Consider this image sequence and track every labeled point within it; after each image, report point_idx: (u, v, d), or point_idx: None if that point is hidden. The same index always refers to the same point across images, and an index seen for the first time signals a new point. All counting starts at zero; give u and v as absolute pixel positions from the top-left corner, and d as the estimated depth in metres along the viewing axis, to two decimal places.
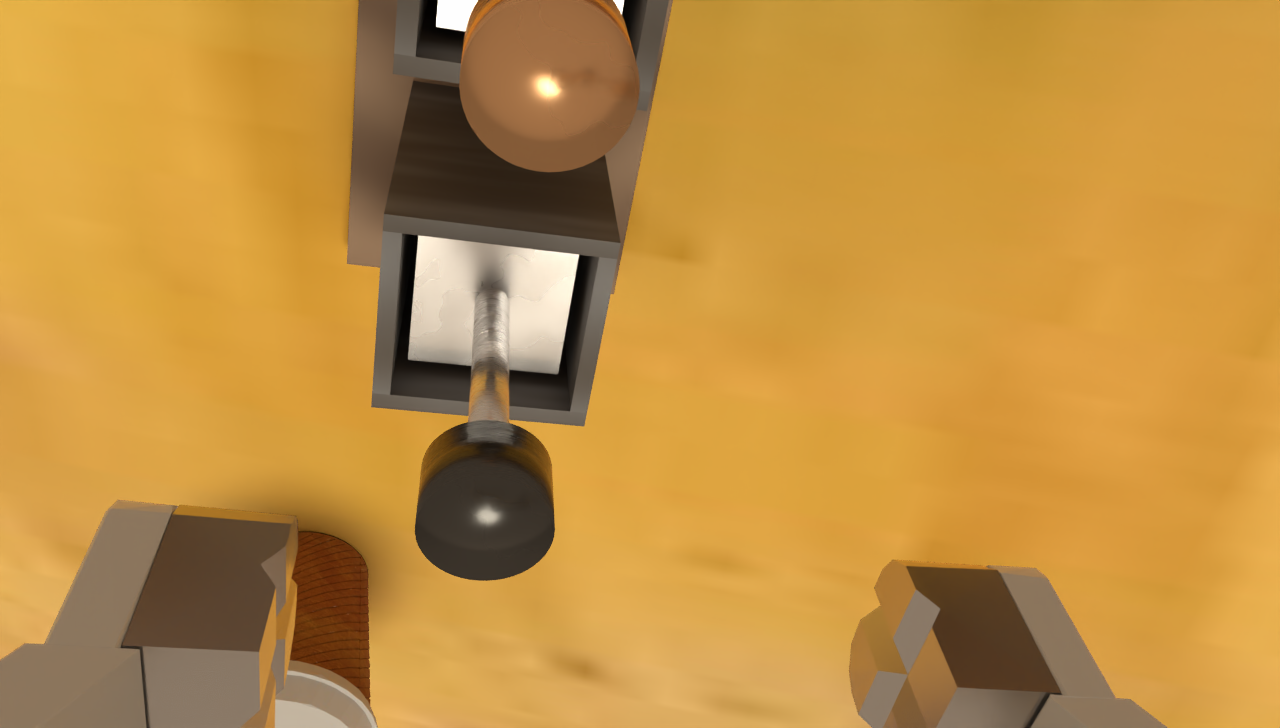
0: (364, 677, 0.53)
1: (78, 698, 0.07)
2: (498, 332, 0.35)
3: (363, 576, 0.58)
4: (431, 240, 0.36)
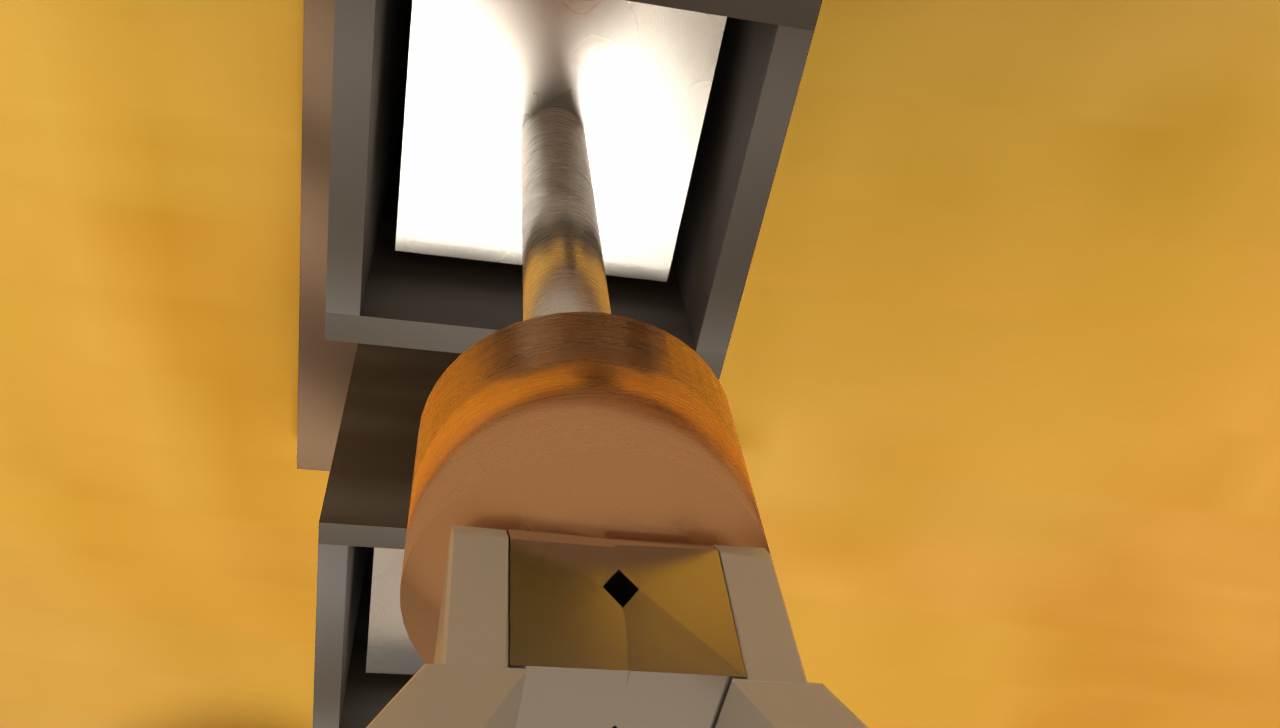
0: None
1: (489, 715, 0.08)
2: None
3: None
4: None
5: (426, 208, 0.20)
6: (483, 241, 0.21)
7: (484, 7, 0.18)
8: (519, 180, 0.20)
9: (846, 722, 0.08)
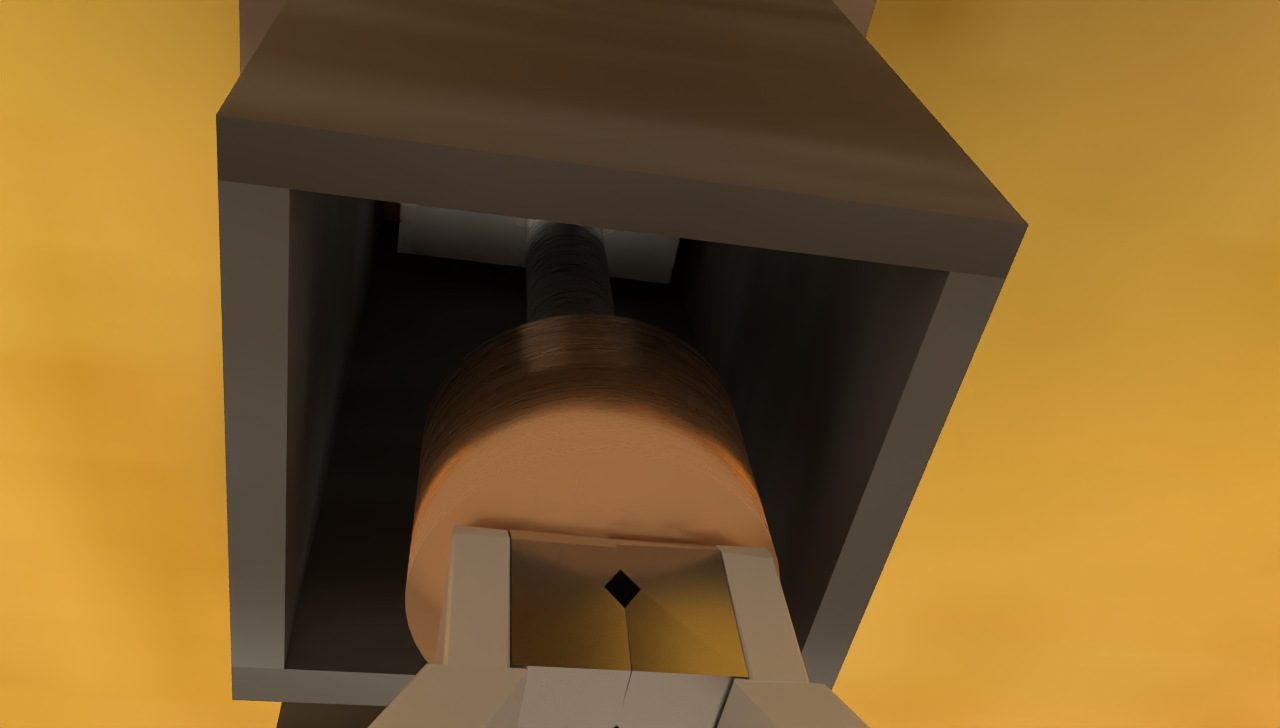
0: None
1: (491, 715, 0.08)
2: None
3: None
4: None
5: (429, 210, 0.20)
6: (485, 242, 0.21)
7: None
8: None
9: (848, 723, 0.08)
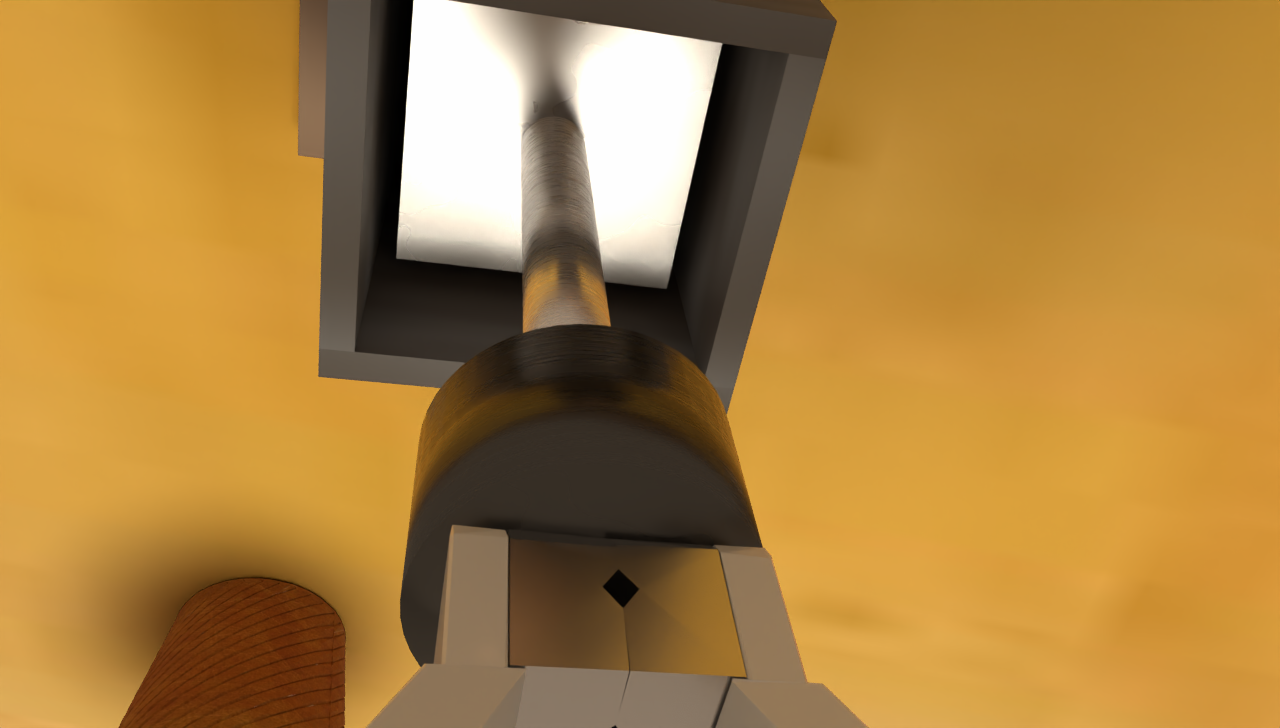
0: None
1: (489, 715, 0.08)
2: (574, 182, 0.17)
3: (337, 642, 0.40)
4: (439, 9, 0.18)
5: None
6: None
7: None
8: None
9: (846, 722, 0.08)
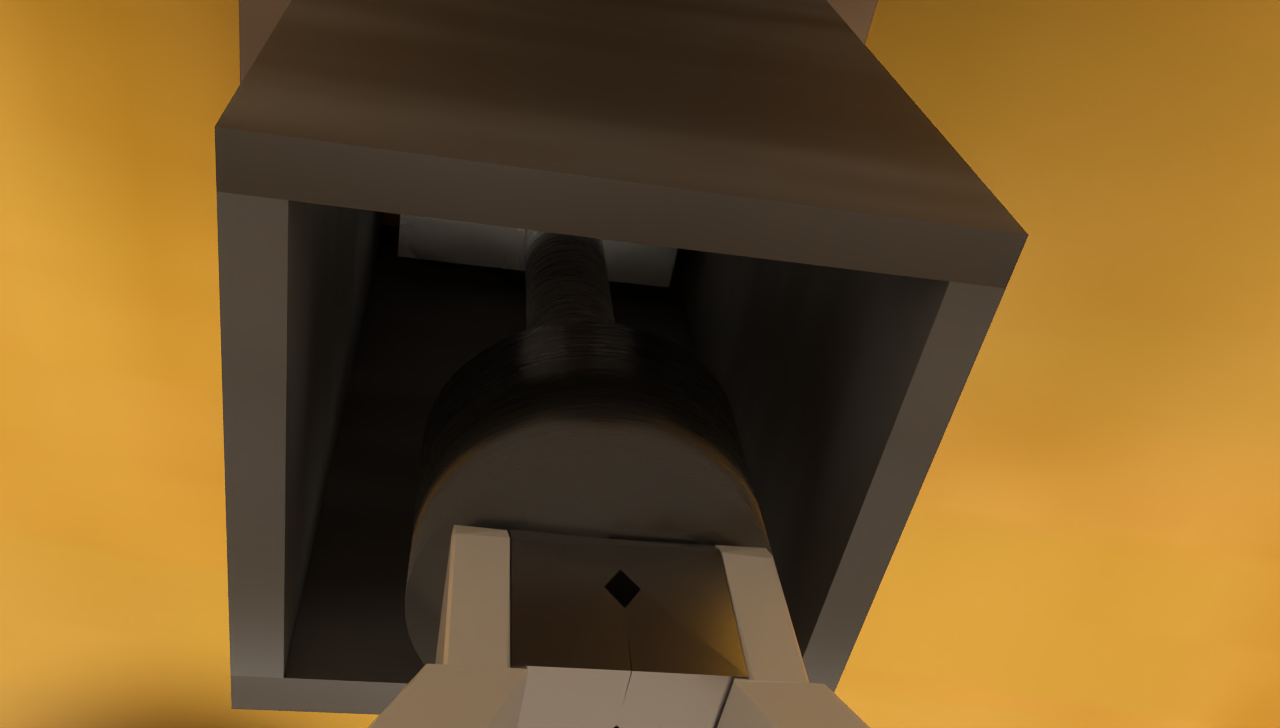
0: None
1: (491, 715, 0.08)
2: None
3: None
4: None
5: None
6: None
7: None
8: None
9: (848, 722, 0.08)
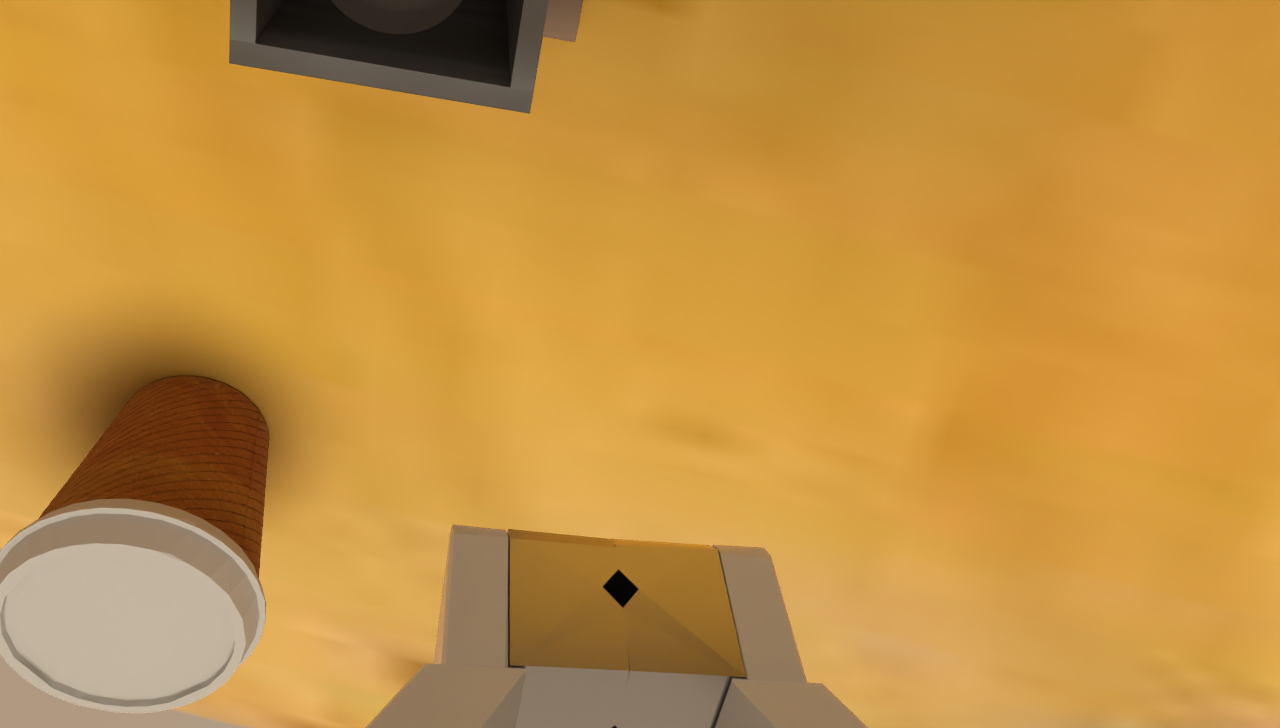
0: (251, 539, 0.41)
1: (489, 715, 0.08)
2: None
3: (261, 433, 0.47)
4: None
5: None
6: None
7: None
8: None
9: (846, 722, 0.08)
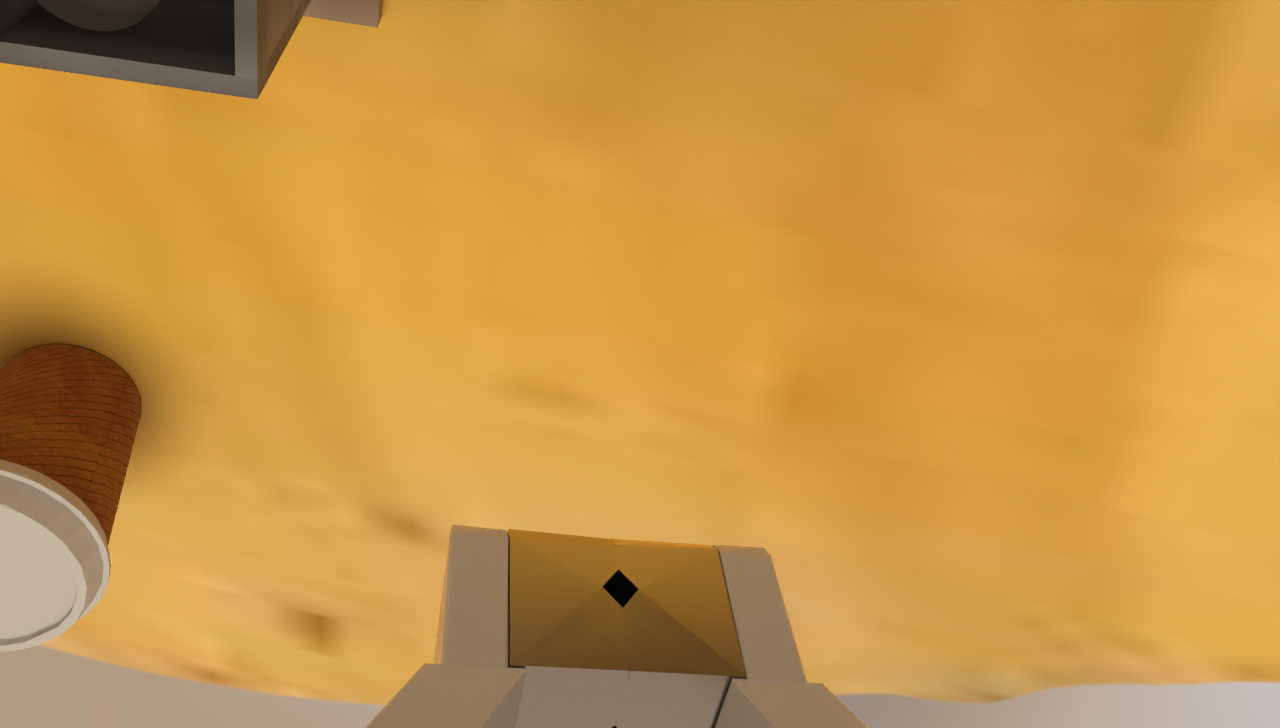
0: (99, 493, 0.45)
1: (489, 715, 0.08)
2: None
3: (127, 397, 0.51)
4: None
5: None
6: None
7: None
8: None
9: (846, 722, 0.08)
